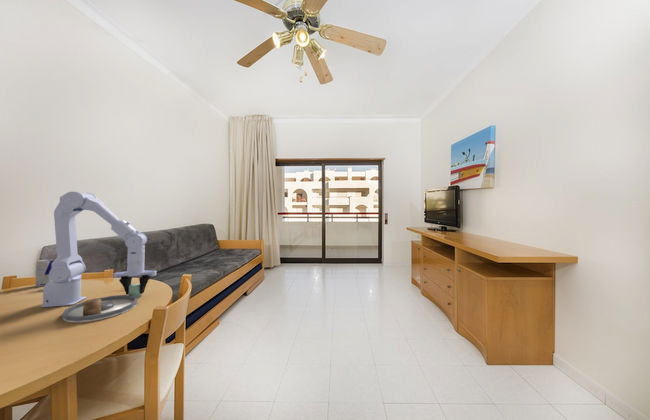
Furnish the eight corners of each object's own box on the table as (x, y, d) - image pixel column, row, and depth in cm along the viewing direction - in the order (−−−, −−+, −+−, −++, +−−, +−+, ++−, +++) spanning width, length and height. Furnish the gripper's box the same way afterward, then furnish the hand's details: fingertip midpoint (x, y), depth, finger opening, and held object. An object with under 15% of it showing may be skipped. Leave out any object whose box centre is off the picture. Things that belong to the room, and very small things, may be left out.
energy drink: (56, 283, 111) (57, 259, 111) (42, 287, 106) (42, 261, 106) (47, 283, 112) (47, 258, 112) (32, 286, 107) (32, 261, 107)
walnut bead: (79, 318, 77) (79, 303, 77) (88, 313, 81) (88, 298, 81) (95, 317, 78) (96, 302, 78) (103, 311, 82) (104, 297, 82)
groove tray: (45, 325, 73) (45, 320, 73) (88, 301, 92) (88, 297, 92) (120, 318, 79) (120, 313, 79) (146, 297, 97) (146, 293, 97)
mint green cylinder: (126, 299, 95) (126, 287, 95) (131, 295, 99) (131, 283, 99) (138, 298, 97) (139, 286, 97) (143, 294, 101) (143, 283, 101)
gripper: (109, 264, 92) (108, 298, 92) (151, 263, 96) (151, 295, 96) (119, 260, 99) (118, 292, 99) (158, 259, 103) (157, 289, 103)
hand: (135, 293), depth 98 cm, fingers closed on mint green cylinder, 4 cm apart
